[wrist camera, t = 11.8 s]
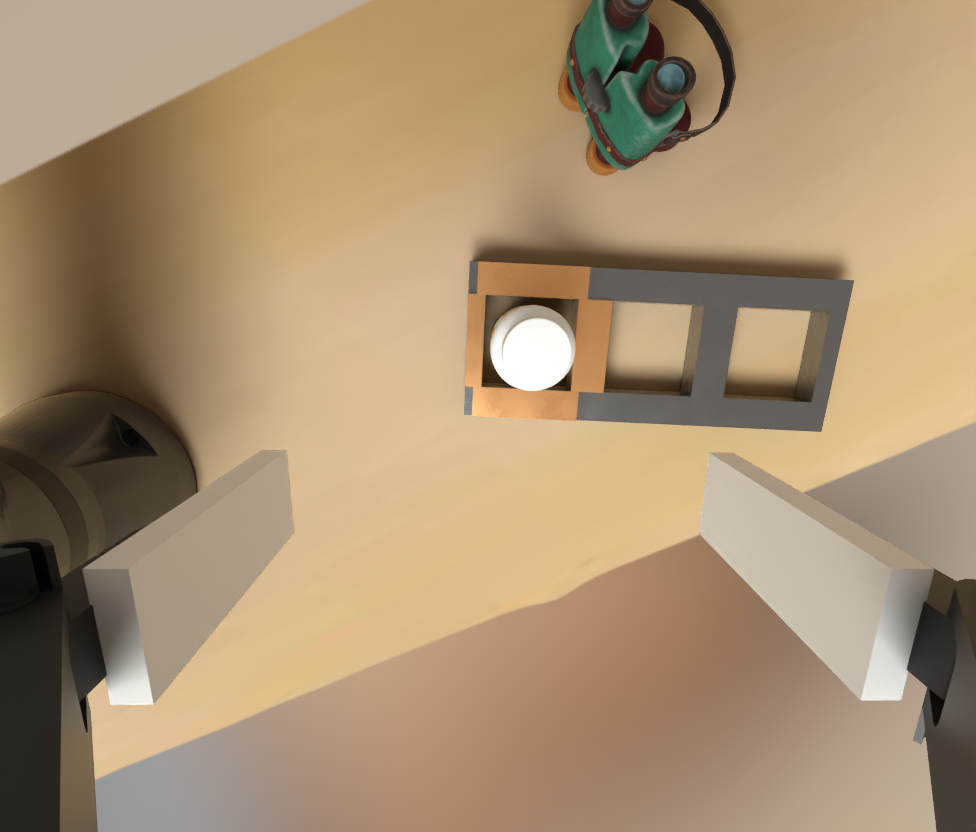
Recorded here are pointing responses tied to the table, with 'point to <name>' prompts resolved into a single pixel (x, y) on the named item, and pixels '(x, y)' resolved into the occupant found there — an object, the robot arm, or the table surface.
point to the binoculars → (634, 82)
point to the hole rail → (704, 352)
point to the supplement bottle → (532, 347)
